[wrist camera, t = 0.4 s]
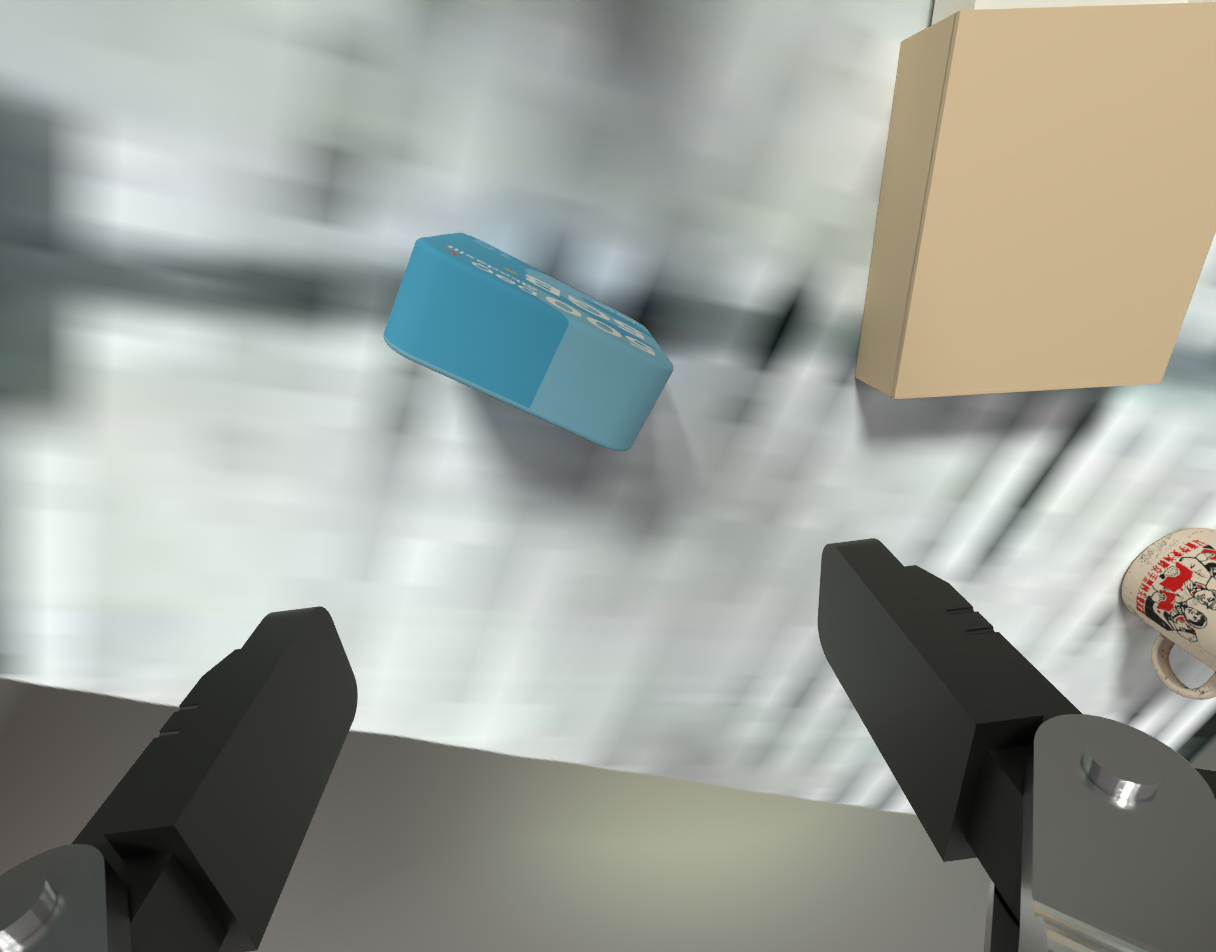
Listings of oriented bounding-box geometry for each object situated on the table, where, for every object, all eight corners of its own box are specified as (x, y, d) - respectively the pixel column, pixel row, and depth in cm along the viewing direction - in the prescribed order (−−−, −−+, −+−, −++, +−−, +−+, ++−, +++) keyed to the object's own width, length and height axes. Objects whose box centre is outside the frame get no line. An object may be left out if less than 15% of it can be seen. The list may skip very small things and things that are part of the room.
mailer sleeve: (901, 41, 30) (960, 10, 26) (1192, 31, 31) (1300, -1, 26) (855, 377, 38) (894, 399, 33) (1090, 363, 38) (1160, 383, 34)
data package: (646, 325, 35) (681, 373, 25) (613, 389, 37) (632, 461, 26) (461, 230, 33) (408, 236, 22) (434, 303, 34) (371, 344, 23)
